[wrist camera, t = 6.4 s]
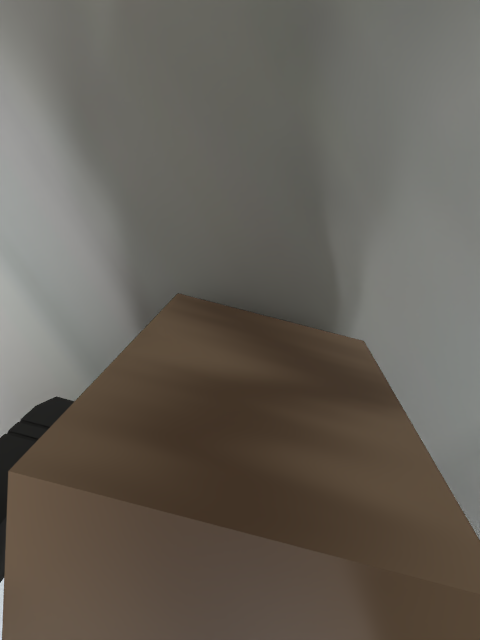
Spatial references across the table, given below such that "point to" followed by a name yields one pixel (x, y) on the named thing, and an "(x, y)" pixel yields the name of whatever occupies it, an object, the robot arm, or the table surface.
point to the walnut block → (236, 498)
